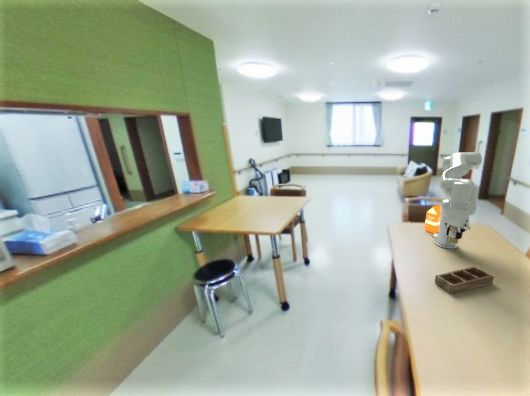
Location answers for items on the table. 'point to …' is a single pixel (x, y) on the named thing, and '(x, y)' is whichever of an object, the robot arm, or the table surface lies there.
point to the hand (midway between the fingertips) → (453, 236)
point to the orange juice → (433, 219)
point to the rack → (463, 279)
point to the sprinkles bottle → (453, 234)
